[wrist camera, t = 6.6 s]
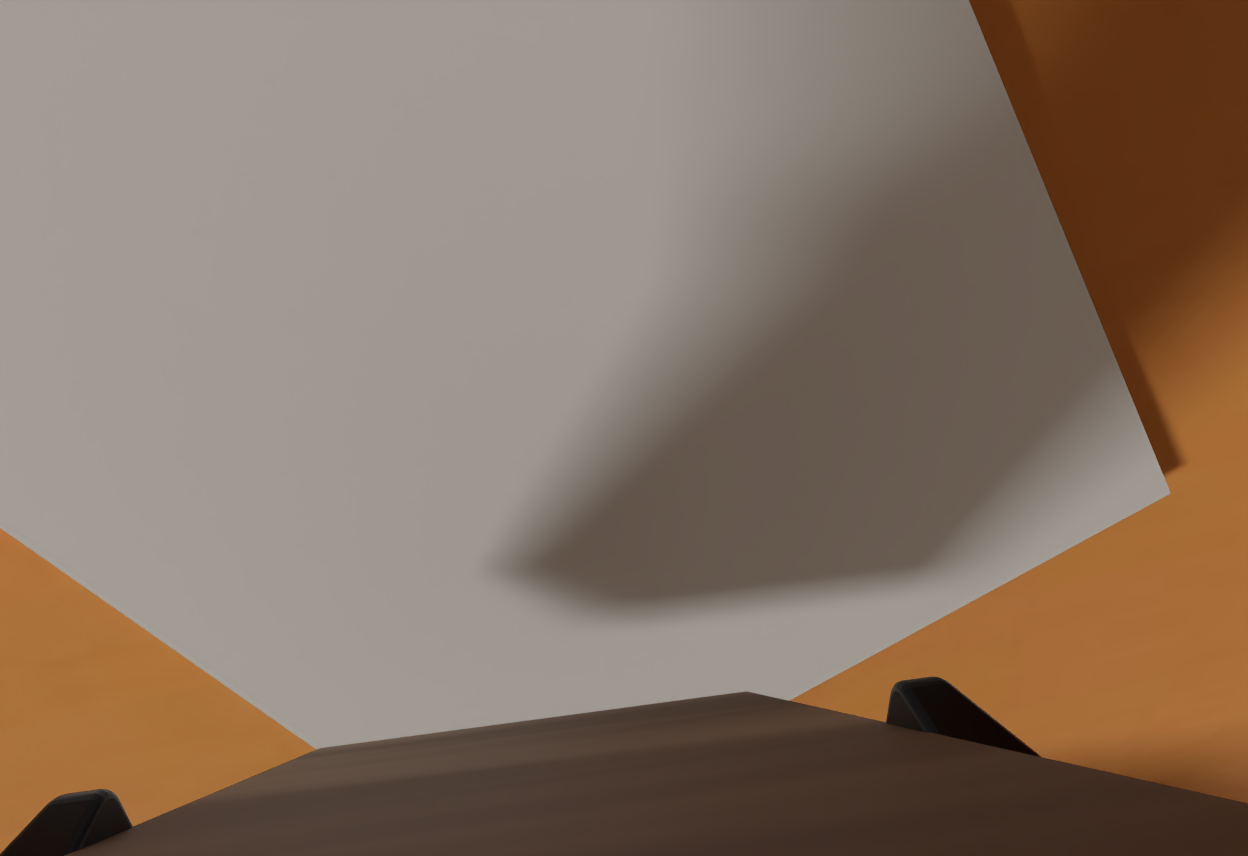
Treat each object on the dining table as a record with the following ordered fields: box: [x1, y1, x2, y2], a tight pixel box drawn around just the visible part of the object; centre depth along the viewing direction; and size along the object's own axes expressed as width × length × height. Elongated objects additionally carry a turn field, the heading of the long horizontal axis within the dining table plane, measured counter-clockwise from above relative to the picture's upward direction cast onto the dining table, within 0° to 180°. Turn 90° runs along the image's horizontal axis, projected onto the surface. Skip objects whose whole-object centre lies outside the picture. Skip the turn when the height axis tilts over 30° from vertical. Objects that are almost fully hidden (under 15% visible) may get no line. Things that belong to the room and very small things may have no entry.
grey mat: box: [0, 0, 1170, 750], centre depth 15 cm, size 18×16×1 cm
